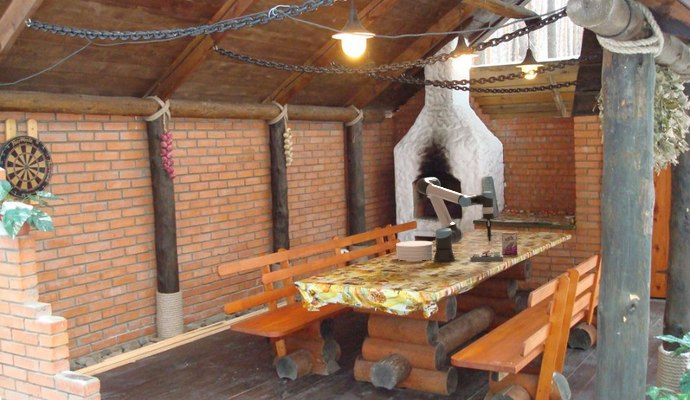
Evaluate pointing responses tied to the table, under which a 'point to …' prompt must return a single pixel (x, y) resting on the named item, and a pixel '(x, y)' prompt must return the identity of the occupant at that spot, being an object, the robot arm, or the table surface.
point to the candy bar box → (509, 242)
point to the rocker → (486, 252)
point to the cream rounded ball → (475, 254)
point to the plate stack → (414, 250)
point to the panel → (486, 258)
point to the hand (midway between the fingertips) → (489, 245)
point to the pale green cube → (497, 253)
